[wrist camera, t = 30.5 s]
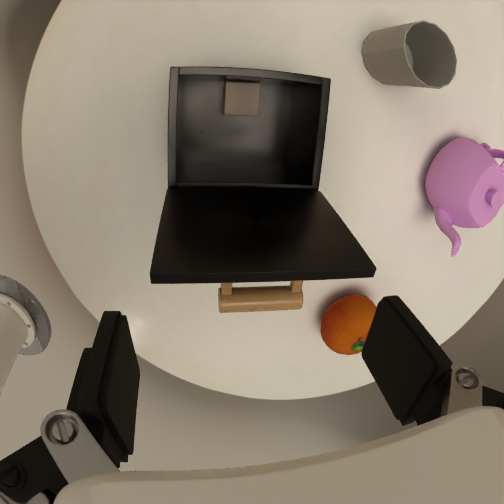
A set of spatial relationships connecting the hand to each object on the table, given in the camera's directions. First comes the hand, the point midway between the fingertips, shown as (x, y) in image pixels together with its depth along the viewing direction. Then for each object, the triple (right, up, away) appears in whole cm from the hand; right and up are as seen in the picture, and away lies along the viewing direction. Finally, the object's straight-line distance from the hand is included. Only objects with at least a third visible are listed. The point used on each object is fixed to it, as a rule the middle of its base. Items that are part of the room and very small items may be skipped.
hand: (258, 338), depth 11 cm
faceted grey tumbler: (+18, +30, +23) cm, 42 cm away
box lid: (0, +5, +13) cm, 14 cm away
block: (-2, +21, +23) cm, 32 cm away
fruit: (+16, -7, +43) cm, 46 cm away
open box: (-2, +19, +25) cm, 32 cm away
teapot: (+32, +15, +34) cm, 49 cm away
